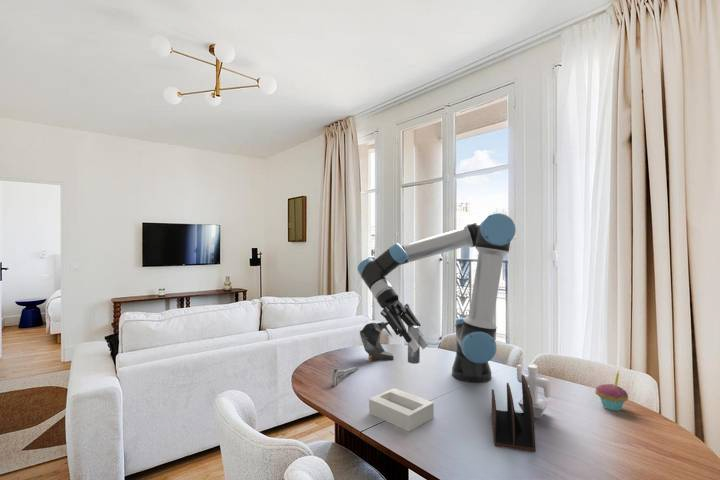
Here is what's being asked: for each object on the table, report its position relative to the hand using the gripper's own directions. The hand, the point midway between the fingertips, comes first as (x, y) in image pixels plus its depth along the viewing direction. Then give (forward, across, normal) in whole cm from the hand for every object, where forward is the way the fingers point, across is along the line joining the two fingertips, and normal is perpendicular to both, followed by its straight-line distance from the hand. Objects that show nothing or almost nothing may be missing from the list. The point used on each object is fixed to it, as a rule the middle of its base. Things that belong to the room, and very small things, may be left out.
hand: (421, 348), depth 120 cm
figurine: (+34, -18, +8) cm, 39 cm away
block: (+13, +12, -12) cm, 22 cm away
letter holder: (+33, -4, +7) cm, 34 cm away
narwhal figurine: (-17, -22, -44) cm, 52 cm away
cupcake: (+45, -40, +19) cm, 63 cm away
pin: (+1, 0, -6) cm, 6 cm away
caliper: (-12, +3, -39) cm, 40 cm away
